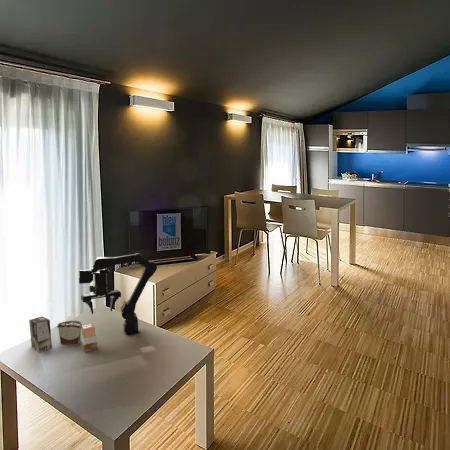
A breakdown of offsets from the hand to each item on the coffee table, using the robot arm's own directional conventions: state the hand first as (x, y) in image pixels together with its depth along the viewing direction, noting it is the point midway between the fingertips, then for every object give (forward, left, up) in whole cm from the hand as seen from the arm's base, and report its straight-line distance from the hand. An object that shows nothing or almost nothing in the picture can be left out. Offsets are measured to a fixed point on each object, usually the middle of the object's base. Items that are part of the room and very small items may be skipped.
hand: (101, 312), depth 190 cm
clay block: (+9, +11, -7) cm, 16 cm away
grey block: (+9, +11, -10) cm, 17 cm away
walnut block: (+9, +11, -13) cm, 19 cm away
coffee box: (+28, -4, -16) cm, 32 cm away
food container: (+14, -2, -13) cm, 19 cm away
